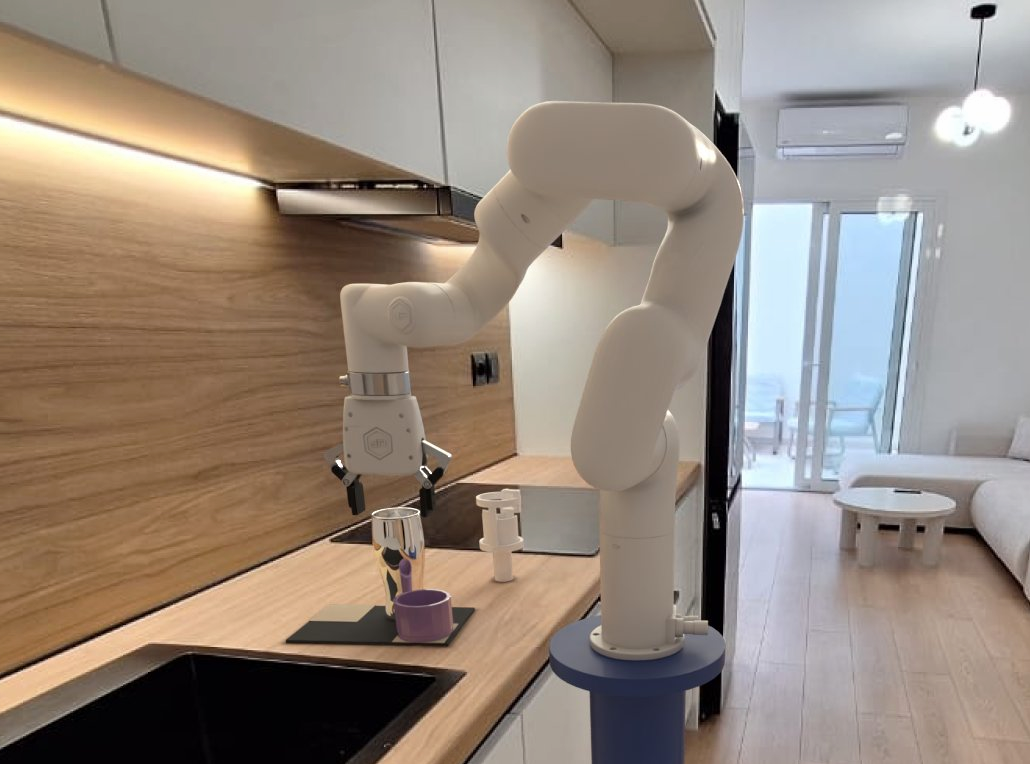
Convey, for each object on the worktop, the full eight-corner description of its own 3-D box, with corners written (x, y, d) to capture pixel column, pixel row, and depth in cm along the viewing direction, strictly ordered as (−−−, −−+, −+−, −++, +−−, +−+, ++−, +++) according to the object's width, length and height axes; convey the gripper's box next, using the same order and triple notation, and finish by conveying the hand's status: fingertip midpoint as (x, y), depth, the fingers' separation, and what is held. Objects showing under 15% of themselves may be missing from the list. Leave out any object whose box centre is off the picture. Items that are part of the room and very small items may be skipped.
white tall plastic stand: (517, 586, 130) (512, 494, 125) (476, 584, 131) (468, 492, 126) (530, 573, 137) (525, 485, 131) (490, 571, 138) (484, 484, 132)
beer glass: (426, 603, 121) (416, 505, 116) (436, 618, 116) (426, 515, 110) (378, 610, 119) (366, 509, 113) (386, 625, 113) (373, 520, 107)
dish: (459, 623, 114) (456, 589, 112) (444, 643, 107) (441, 607, 105) (408, 622, 114) (404, 588, 112) (389, 642, 107) (385, 606, 105)
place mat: (474, 609, 120) (474, 606, 120) (448, 646, 107) (447, 642, 107) (330, 607, 121) (329, 604, 121) (285, 642, 108) (285, 639, 108)
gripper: (302, 387, 103) (320, 519, 109) (437, 390, 102) (447, 522, 108) (327, 382, 110) (343, 506, 116) (453, 384, 109) (462, 509, 115)
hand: (393, 514), depth 112 cm, fingers open, 9 cm apart
